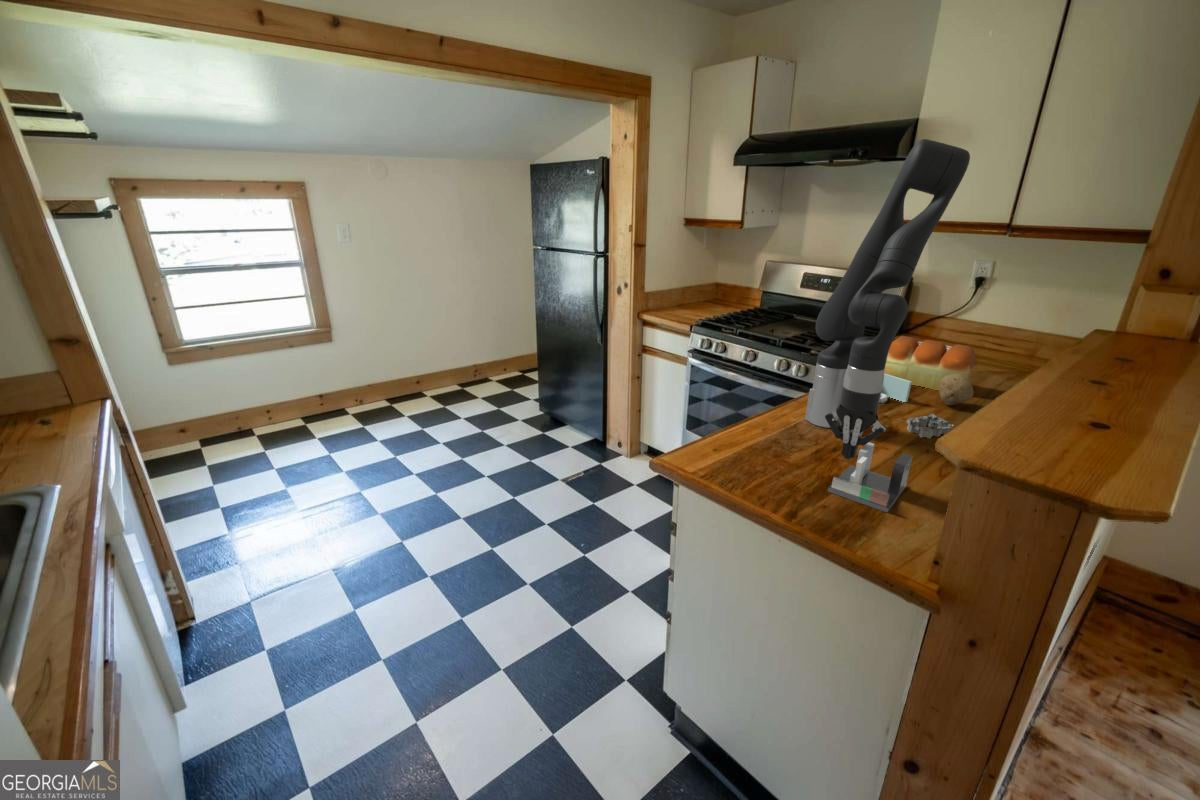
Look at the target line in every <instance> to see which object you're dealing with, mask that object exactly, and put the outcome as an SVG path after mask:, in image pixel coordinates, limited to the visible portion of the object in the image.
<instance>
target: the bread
mask: <svg viewBox="0 0 1200 800" xmlns="http://www.w3.org/2000/svg"><path fill="white" fill-rule="evenodd" d="M918 342H919V341H917V339H916V338H914V337H913V336H905V335H901V336H899V337H897V338H896V339H894V340H893V341H892V344H891V346H890V349H889V352H888V356H887V360H886V365H885V370H884V373H885V374H888V375H892V376H895V377H898V378H901V379H905V380H908V381H911V382H912V383H911V385H916V386H921V387H925V388H924V389H926V388H930V389H934V390H933V391H935V390H939V383H940V381H941V379H943V378H944V377H946V376H948V375H953V374H955V375H957V374H960V375H963V376H965V377H966V378H967V379H968V380H969V381H970V378H971V377H970V376H971V374H972V371H973V370H972V369H974V367H975V365H976V360H977V354H976V352H975V350H974V349H973V348H972V347H971V346H970V345H964V344H958V343H957V344H955V345H953V346H951V348H950V349H949V350H948V351H947V347H946V346H947V345H946V344H945V343H944V342H942V341H936V340H931V339H925V340H923V341H921V342H922V343H921V344H920V345H919V343H918ZM916 386H915V387H916ZM921 387H920V388H921ZM930 389H929V390H930Z"/></svg>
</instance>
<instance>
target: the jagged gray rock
mask: <svg viewBox="0 0 1200 800" xmlns="http://www.w3.org/2000/svg"><path fill="white" fill-rule="evenodd" d="M905 423H906V424H907V427H906V430H907V432H908V433H911V434H917V435H918V437H919V436H920V437H919V438H922V437H927V438H926V439H932V438H931V437H940V436H941V435H946V434H945V433H946V432H948V431H949V432H950V430H951V429H953V427H954V426H955V425H954V424H950V423H949V421H948V420H945V419H943V418H942V417H940V416H939V417H938V416H937V415H936V414H934V413H930V414H928V415H924V416H923V415H921V416H918V417H917V416H916V417H908V418H907V420H906V422H905ZM934 435H935V436H934Z"/></svg>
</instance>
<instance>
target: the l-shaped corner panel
mask: <svg viewBox="0 0 1200 800" xmlns="http://www.w3.org/2000/svg"><path fill="white" fill-rule="evenodd" d="M911 383H912V382H911V381H908V380H905V379H901V378H898V377H895V376H892V375H888V374H885V373H884V381H883V386H882V390H881V395H880V400H879V404H880V403H881V404H884V403H886V402H887V401H888V398H889V397H890V398H889V399H891V398H893V399H892V400H894V399H896V400H895V401H897V400H899V401H898V402H900V401H902V402H901V403H903V402H907V403H908V400H909V396H910V391H911Z"/></svg>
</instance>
